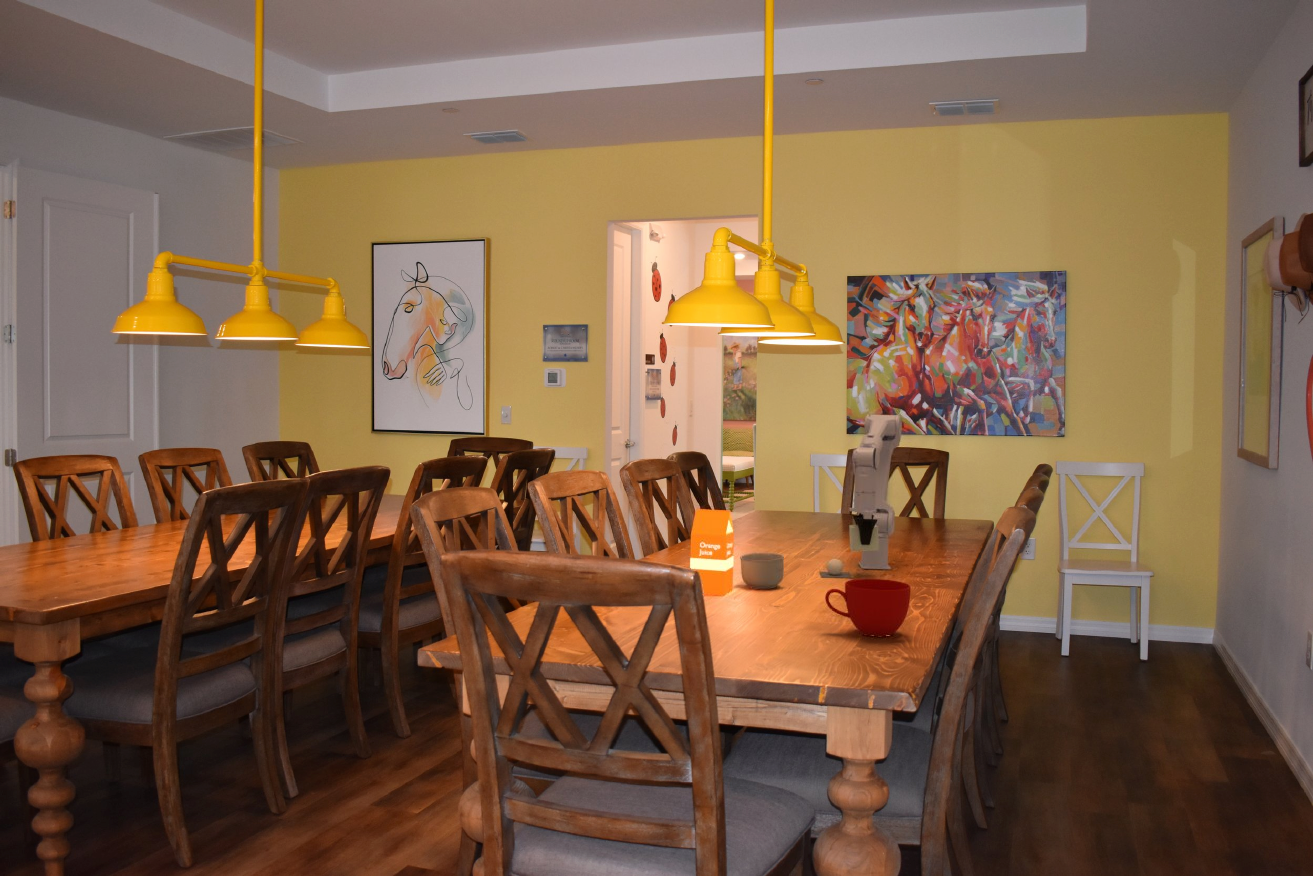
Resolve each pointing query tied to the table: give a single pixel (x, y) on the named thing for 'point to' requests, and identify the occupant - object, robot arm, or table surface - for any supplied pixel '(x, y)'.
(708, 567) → the orange juice
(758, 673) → the table surface
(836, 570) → the ball
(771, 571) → the teacup
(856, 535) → the beige cuboid
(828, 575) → the thin dark grey panel
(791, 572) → the table surface
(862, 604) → the ceramic cup
